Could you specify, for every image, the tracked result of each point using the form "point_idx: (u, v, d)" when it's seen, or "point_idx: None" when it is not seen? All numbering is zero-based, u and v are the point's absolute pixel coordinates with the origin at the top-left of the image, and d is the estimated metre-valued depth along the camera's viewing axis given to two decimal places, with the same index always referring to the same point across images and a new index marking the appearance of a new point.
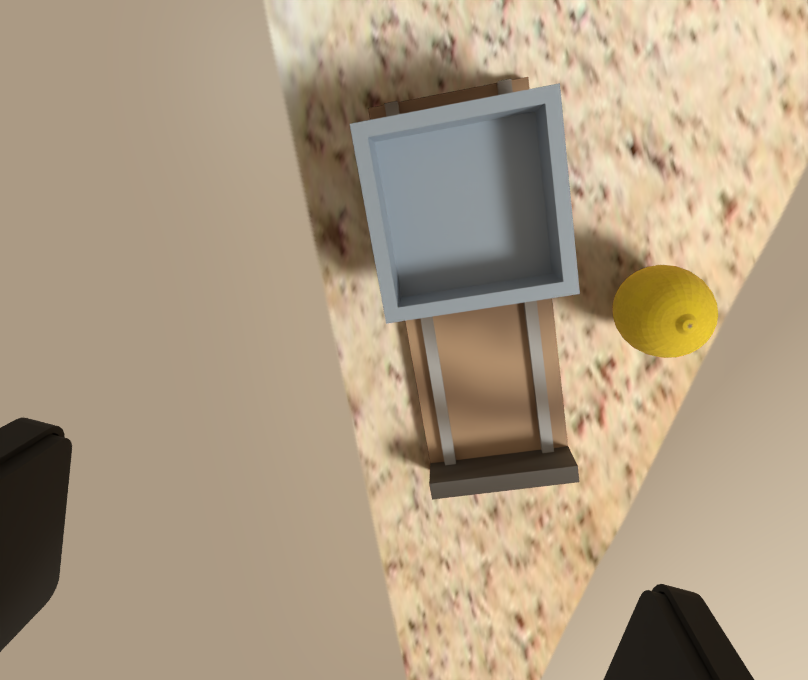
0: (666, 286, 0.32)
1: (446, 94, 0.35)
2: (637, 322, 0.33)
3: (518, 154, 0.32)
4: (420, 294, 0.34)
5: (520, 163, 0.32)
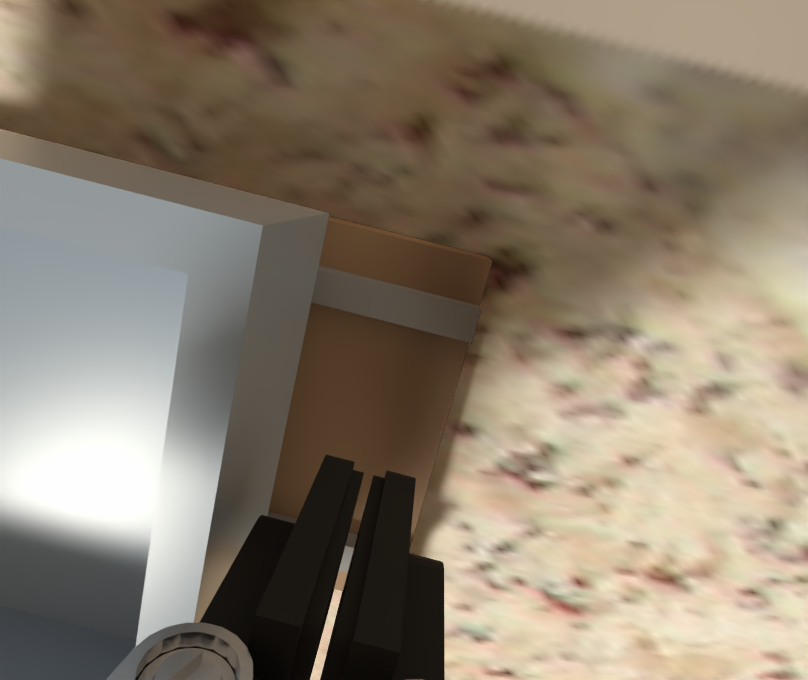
0: None
1: (435, 446, 0.15)
2: None
3: (108, 588, 0.12)
4: None
5: (85, 584, 0.12)
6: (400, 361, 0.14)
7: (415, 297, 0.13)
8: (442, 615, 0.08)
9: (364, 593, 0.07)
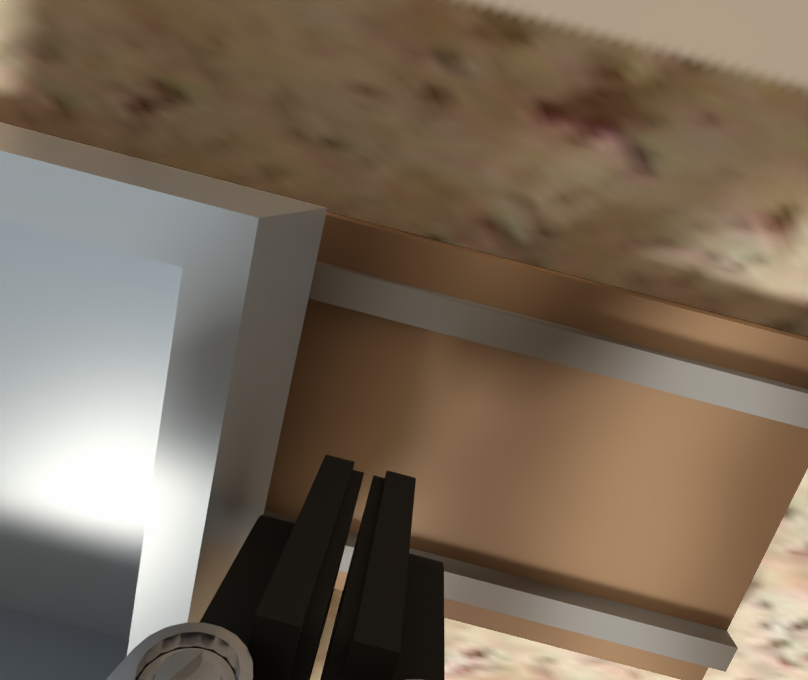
0: None
1: (771, 533, 0.14)
2: None
3: (101, 586, 0.12)
4: None
5: (78, 582, 0.12)
6: (749, 450, 0.14)
7: (792, 393, 0.13)
8: (442, 615, 0.08)
9: (364, 593, 0.07)
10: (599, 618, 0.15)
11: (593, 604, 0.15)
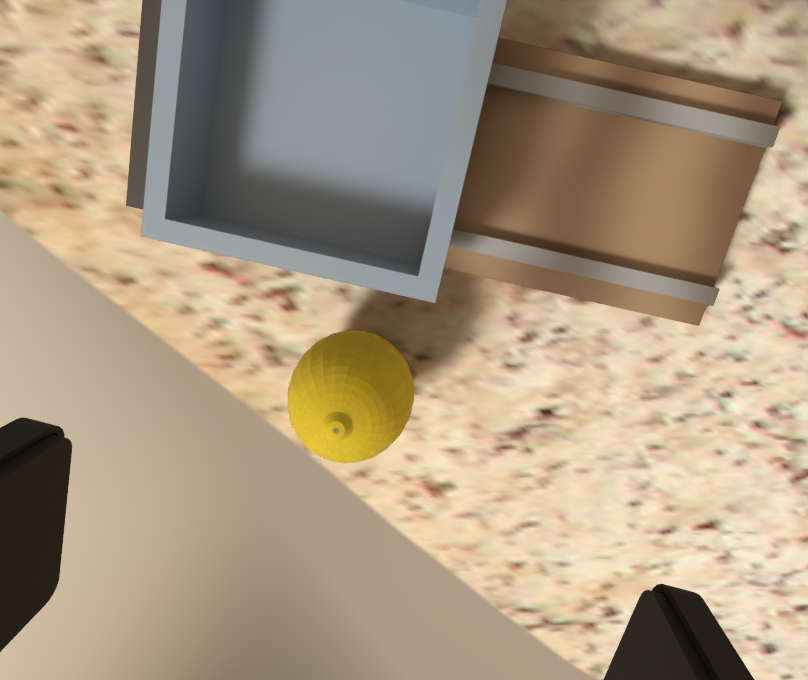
0: (395, 413, 0.23)
1: (736, 218, 0.25)
2: (357, 363, 0.22)
3: (377, 224, 0.23)
4: None
5: (364, 223, 0.23)
6: (721, 165, 0.25)
7: (742, 120, 0.24)
8: None
9: None
10: (638, 275, 0.25)
11: (634, 269, 0.26)
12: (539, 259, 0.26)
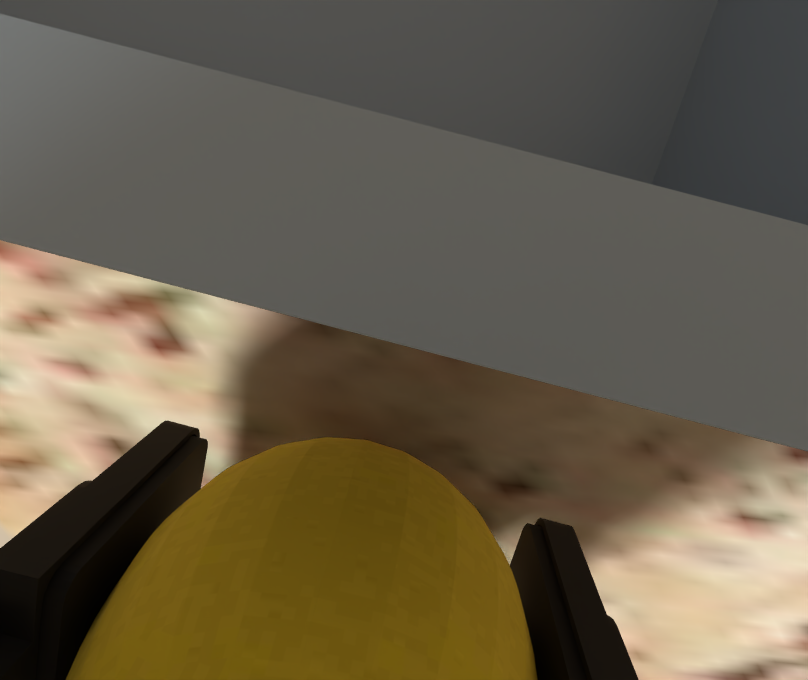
0: None
1: None
2: None
3: (448, 15, 0.05)
4: None
5: (389, 6, 0.05)
6: None
7: None
8: None
9: (588, 668, 0.06)
10: None
11: None
12: None
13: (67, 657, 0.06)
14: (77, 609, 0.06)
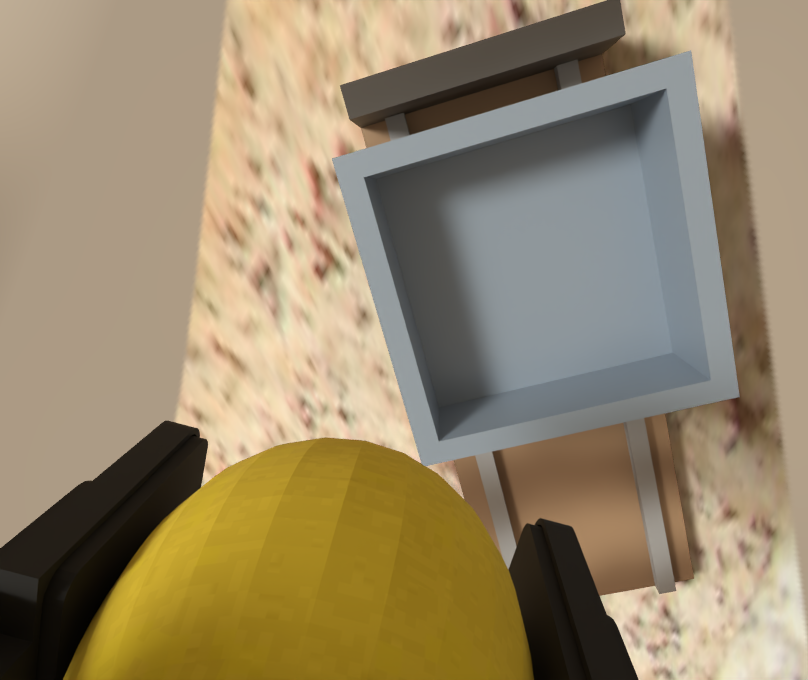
0: None
1: None
2: None
3: (455, 351, 0.22)
4: (597, 114, 0.19)
5: (450, 340, 0.22)
6: (628, 564, 0.28)
7: (669, 564, 0.27)
8: (636, 679, 0.07)
9: (588, 667, 0.06)
10: None
11: None
12: (487, 476, 0.27)
13: (67, 657, 0.06)
14: (77, 609, 0.06)
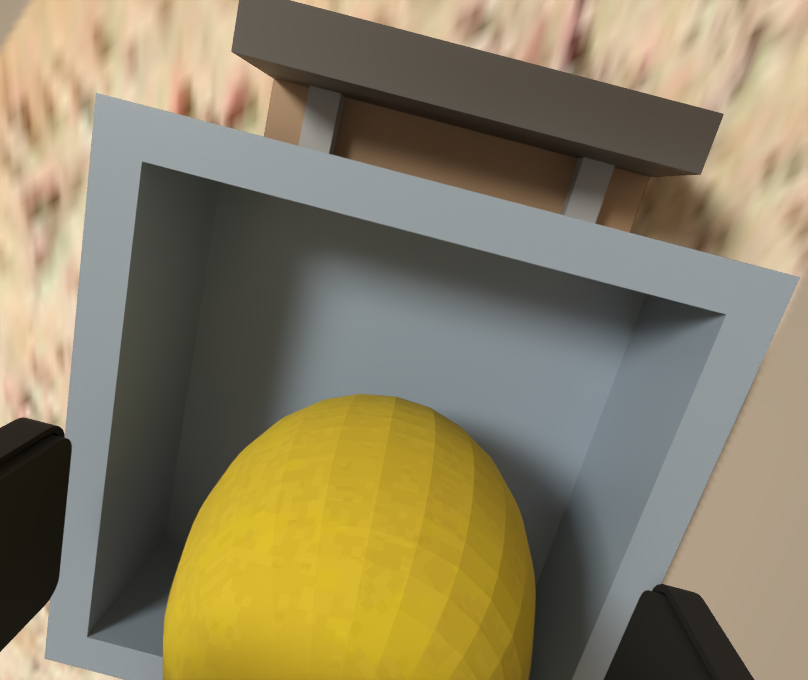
0: None
1: None
2: (393, 546, 0.06)
3: None
4: None
5: (224, 459, 0.13)
6: None
7: None
8: None
9: None
10: None
11: None
12: None
13: None
14: None
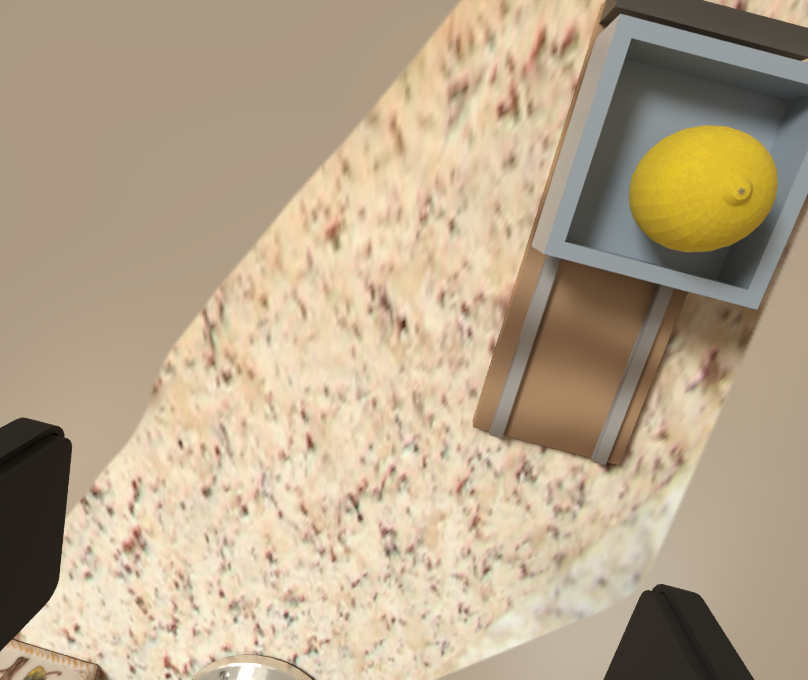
0: (776, 190, 0.23)
1: (547, 445, 0.37)
2: (747, 137, 0.23)
3: (586, 203, 0.30)
4: (768, 95, 0.28)
5: (588, 193, 0.30)
6: (583, 433, 0.37)
7: (612, 443, 0.36)
8: None
9: None
10: (515, 386, 0.36)
11: None
12: (532, 319, 0.35)
13: None
14: None
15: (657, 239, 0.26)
